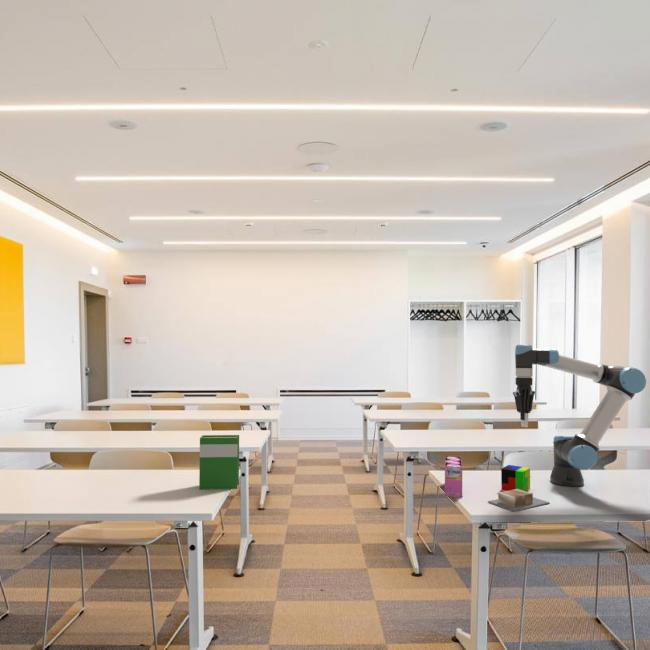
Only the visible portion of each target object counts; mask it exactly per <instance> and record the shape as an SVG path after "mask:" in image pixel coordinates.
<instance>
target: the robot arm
mask: <svg viewBox="0 0 650 650" xmlns="http://www.w3.org/2000/svg"><path fill="white" fill-rule="evenodd" d="M514 356H515V357H514V358H515V376H516V377H515V385H516V386H517V387H516V391H513V392H512V395H513V397H514V402H515V407H516V408H515V409H516V411H517V413H520V416H519V417H520V427H522V428H528V427H529V414H530V413H531V412H532V410H533V404H534V396H535V394H536V391H535V390H532V387H531V386H533V365H538V366H542V367H547V368H550V369H553V370H557V371H560V372H564V373H568V374H572V375H575V376H579V377H582V378H584V379H585V378H586V379H588V380H592V382H594V383H596V384H600V385H603V386H605V387H606V390H607V392H606V393H605V394H604V396H603V398H602V399H601V401H600V402H599V404H597V405H598V406H597V407H596V409H595V410H594V411H593V413H592V414H591V417H590V418H589V420H588V421H587V423H586V424H585V425H584V427H583V429H582V430H581V432H580V433H577V434H574V435H555V436H554V437H553V442H552V443H553V467H552V469H551V470H552V471H551V473H550V477H549V478H550V480H549V481H550V482H551V483H553V484H556V485H560V486H564V487H581V486H584V485H585V479H584V477H583V473H582V471H581V470H583V471H585V470H589V469H591V468H593V467H595V465H596V464H597V461H598V454H597V453H598V452H599V451H600V446H599V444H600V443H601V440H602V439H603V437H604V436H605V434H607V431H608V430H609V428H610V427H611V425H612V423H613V422H614V420H615V419H616V417H617V416H618V414H619V413H620V412H621V410H622V408H623V406H624V405H625V403H626V402H628V401H631V400H632V399H633V398H634V396H635V395H636V394H638V393H640V392H642V391H644V389H645V388H646V385H647V379H646V375H645V374H644V373H643V371H641V369H638V368H636V367H633V366H619V365H608V364H607V365H606V364H602V363H598V364H594V363H591V362H589V361H584V360H580V359H577V358H573V357H569V356H566V355H565V356H564V355H561V354H560V353H559V351H558V350H557V349H556V348H535V347H533V345H532V344H517V345H515V350H514Z"/></svg>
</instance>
